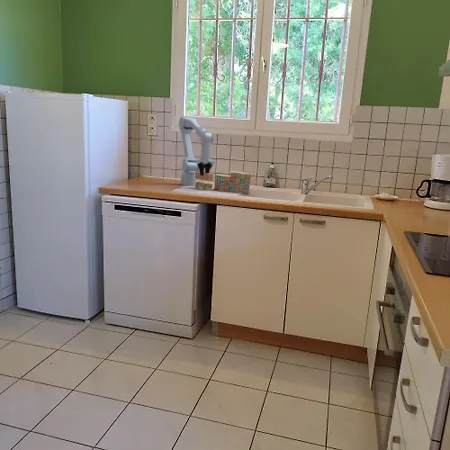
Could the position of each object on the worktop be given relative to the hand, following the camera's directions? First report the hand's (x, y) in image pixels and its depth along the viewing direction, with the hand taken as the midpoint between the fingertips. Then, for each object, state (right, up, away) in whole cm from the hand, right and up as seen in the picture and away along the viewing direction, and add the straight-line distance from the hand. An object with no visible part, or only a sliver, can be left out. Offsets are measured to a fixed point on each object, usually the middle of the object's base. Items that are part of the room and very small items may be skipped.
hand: (204, 175), depth 265 cm
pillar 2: (+2, -9, -1) cm, 9 cm away
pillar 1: (-3, -7, +4) cm, 9 cm away
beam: (0, -2, +1) cm, 3 cm away
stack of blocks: (+17, -10, +1) cm, 20 cm away
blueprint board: (-3, -9, -1) cm, 10 cm away
